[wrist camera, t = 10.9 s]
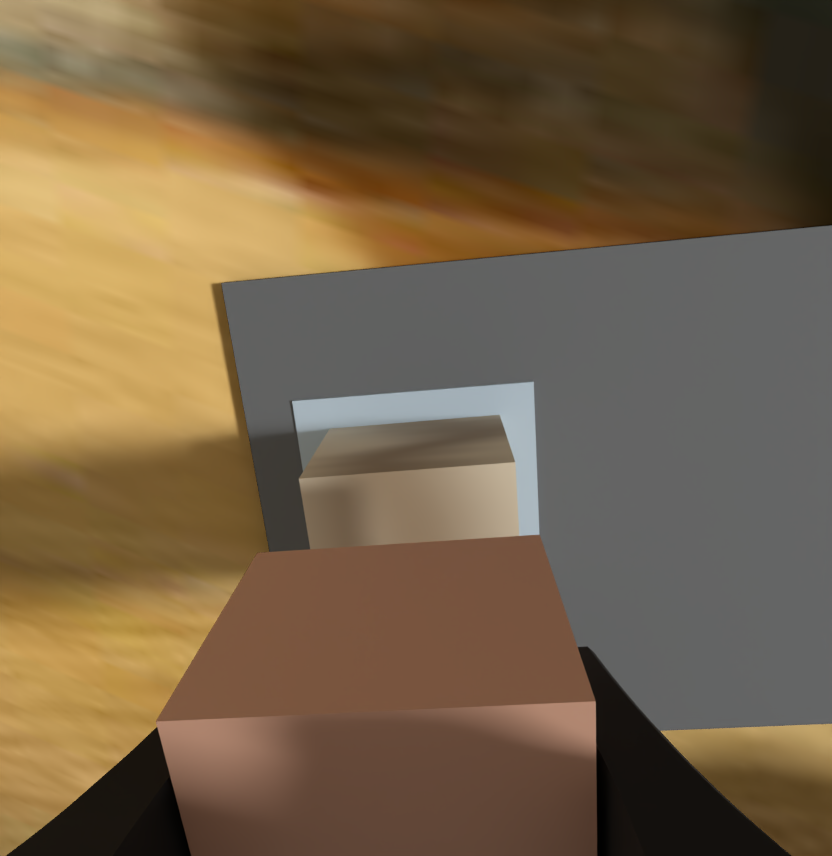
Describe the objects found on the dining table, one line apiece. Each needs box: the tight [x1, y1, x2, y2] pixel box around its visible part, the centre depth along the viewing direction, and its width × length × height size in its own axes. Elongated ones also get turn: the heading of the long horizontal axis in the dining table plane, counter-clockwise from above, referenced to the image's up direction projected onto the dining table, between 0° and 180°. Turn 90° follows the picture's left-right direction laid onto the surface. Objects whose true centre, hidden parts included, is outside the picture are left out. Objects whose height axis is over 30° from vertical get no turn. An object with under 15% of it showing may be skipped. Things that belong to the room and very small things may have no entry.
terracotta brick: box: [156, 535, 597, 856], centre depth 9 cm, size 5×5×4 cm
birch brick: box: [299, 415, 519, 549], centre depth 17 cm, size 5×5×4 cm
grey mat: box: [221, 225, 832, 731], centre depth 19 cm, size 20×16×1 cm
